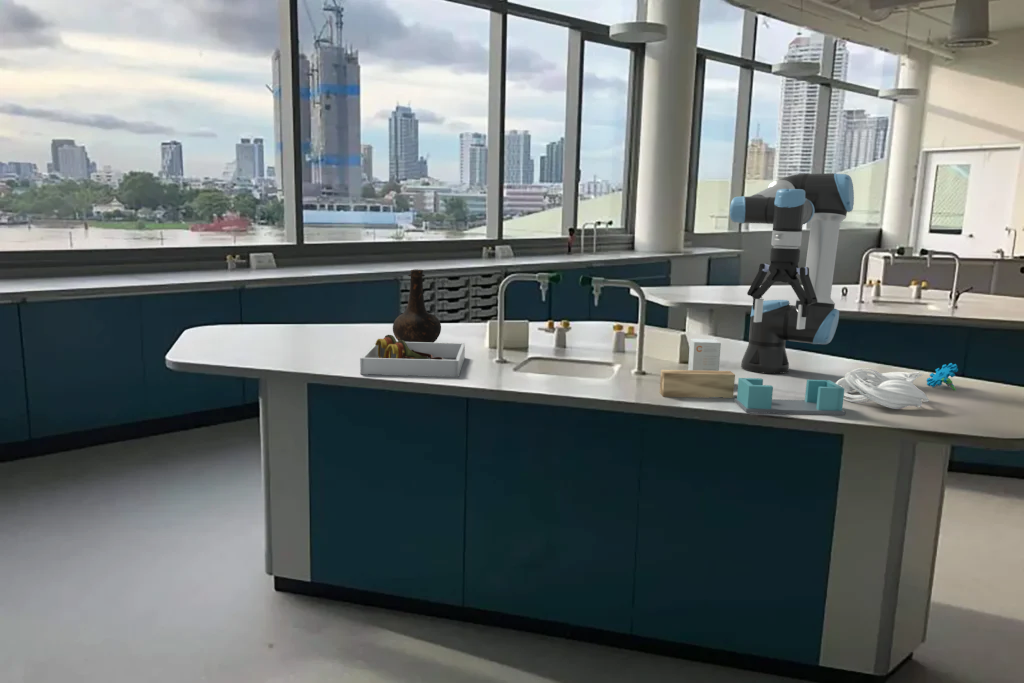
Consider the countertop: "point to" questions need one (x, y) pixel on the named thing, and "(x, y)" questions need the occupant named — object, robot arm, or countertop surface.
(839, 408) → the rail
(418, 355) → the multicoloured curved piece
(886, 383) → the coil
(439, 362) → the tray
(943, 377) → the blue toy flower
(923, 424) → the countertop surface
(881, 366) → the countertop surface
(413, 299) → the glass bottle
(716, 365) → the small box
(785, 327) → the robot arm
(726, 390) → the slat
